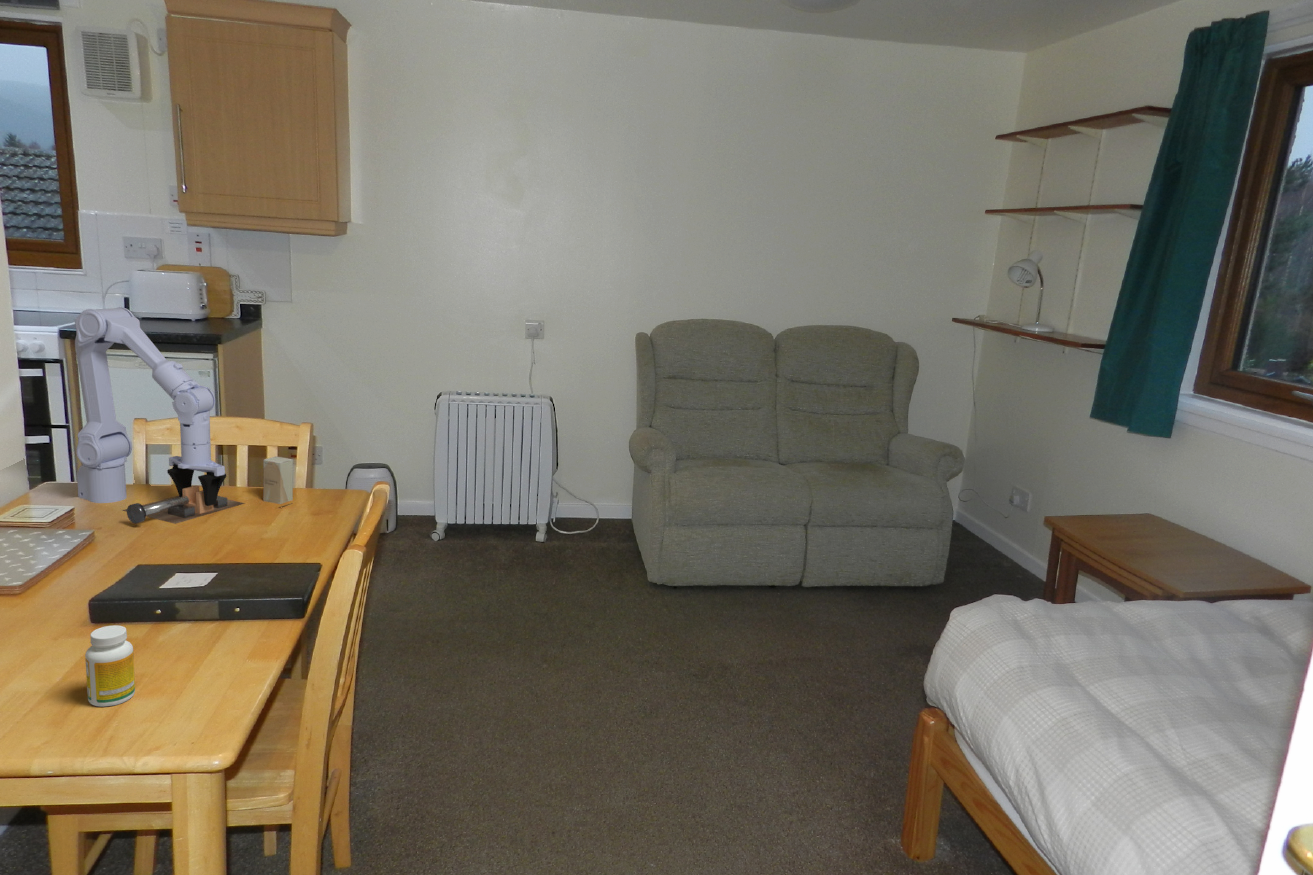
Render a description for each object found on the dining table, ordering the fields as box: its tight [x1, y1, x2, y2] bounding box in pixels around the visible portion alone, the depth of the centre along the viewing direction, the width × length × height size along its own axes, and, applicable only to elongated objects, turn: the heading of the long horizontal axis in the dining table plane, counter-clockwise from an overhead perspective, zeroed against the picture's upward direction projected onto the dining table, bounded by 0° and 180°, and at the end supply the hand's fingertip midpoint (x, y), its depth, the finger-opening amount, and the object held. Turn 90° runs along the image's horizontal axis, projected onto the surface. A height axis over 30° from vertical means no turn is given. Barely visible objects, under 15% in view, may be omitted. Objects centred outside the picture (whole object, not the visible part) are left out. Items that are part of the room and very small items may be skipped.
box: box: [262, 456, 294, 509], centre depth 196 cm, size 5×4×11 cm
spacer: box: [182, 485, 213, 514], centre depth 186 cm, size 5×4×5 cm
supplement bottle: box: [84, 624, 136, 708], centre depth 112 cm, size 5×5×10 cm
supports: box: [168, 495, 228, 518], centre depth 186 cm, size 5×11×2 cm, turn 158°
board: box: [121, 495, 246, 525], centre depth 188 cm, size 16×18×1 cm
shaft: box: [126, 496, 189, 524], centre depth 177 cm, size 4×12×4 cm, turn 158°
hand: (197, 501), depth 186 cm, fingers open, 7 cm apart
